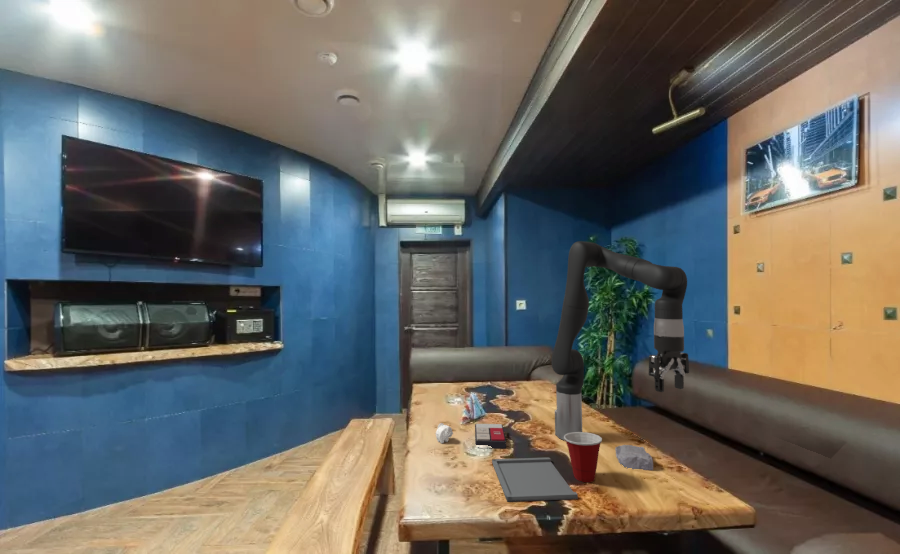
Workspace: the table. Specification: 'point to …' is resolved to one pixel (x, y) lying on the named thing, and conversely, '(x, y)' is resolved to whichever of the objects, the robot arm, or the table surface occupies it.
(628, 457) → the stone block
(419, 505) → the table surface
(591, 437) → the plastic cup
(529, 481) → the grey tray
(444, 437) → the elephant figurine
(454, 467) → the table surface
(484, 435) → the grey and red box
